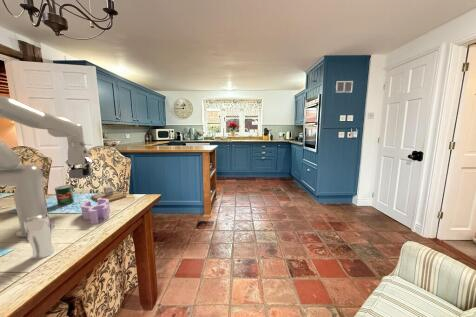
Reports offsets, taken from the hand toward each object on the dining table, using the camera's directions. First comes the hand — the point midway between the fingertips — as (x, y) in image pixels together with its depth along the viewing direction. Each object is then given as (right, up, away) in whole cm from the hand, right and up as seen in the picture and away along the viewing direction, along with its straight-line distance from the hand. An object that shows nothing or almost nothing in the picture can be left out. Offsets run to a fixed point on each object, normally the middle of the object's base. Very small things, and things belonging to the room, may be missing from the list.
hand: (80, 174), depth 120 cm
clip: (+18, -22, -10) cm, 30 cm away
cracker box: (-30, -20, +4) cm, 36 cm away
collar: (0, -1, 0) cm, 1 cm away
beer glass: (+19, -27, -42) cm, 54 cm away
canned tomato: (-15, -19, +7) cm, 25 cm away
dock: (+7, -17, +16) cm, 24 cm away
